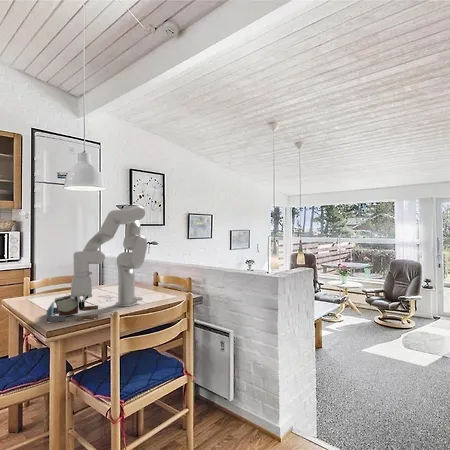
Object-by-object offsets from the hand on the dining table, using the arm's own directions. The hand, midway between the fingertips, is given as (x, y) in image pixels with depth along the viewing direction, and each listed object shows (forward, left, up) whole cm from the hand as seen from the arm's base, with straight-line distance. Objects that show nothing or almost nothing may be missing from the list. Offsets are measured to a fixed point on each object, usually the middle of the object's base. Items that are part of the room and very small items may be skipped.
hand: (81, 308), depth 173 cm
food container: (+7, -1, -3) cm, 8 cm away
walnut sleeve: (-3, 0, -3) cm, 5 cm away
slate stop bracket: (+11, 0, -3) cm, 11 cm away
